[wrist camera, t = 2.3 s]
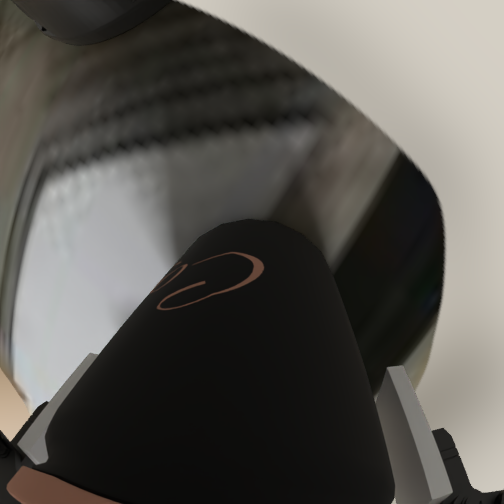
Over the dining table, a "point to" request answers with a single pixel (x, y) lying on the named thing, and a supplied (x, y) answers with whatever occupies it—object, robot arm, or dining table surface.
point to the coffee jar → (223, 390)
